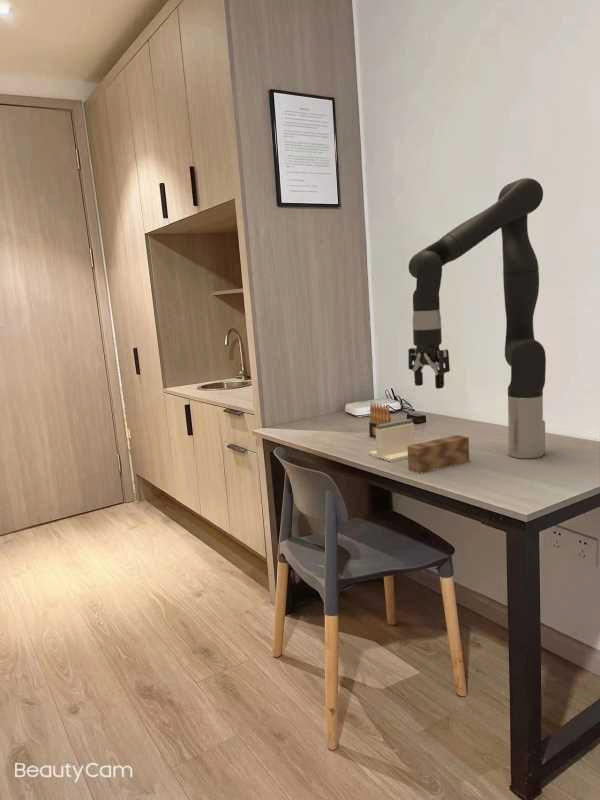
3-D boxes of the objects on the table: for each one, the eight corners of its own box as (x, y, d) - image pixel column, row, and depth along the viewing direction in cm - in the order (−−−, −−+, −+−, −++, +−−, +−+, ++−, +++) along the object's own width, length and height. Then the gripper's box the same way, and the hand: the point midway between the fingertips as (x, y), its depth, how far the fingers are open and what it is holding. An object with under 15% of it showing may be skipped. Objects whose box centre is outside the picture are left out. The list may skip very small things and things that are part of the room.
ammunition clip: (369, 436, 211) (367, 402, 209) (373, 436, 212) (372, 401, 210) (388, 442, 202) (387, 406, 200) (393, 441, 203) (391, 405, 201)
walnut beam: (458, 458, 177) (457, 435, 176) (469, 461, 174) (468, 437, 172) (408, 470, 169) (407, 445, 168) (419, 474, 165) (418, 448, 164)
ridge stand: (400, 448, 193) (399, 416, 191) (423, 454, 183) (422, 422, 182) (369, 455, 187) (367, 422, 186) (390, 462, 178) (389, 428, 176)
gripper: (455, 326, 162) (457, 387, 164) (420, 326, 174) (422, 382, 177) (433, 329, 158) (435, 391, 161) (399, 328, 171) (401, 386, 173)
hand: (429, 386), depth 169 cm, fingers open, 8 cm apart
